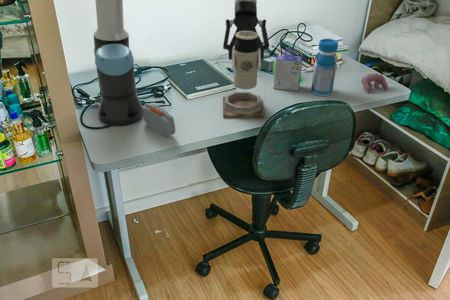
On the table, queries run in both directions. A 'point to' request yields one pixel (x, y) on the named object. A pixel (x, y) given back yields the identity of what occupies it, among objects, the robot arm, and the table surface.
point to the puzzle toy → (274, 67)
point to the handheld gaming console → (158, 120)
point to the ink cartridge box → (287, 71)
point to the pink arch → (377, 80)
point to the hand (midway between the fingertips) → (246, 68)
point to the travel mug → (246, 60)
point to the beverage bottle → (325, 68)
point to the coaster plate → (242, 105)
